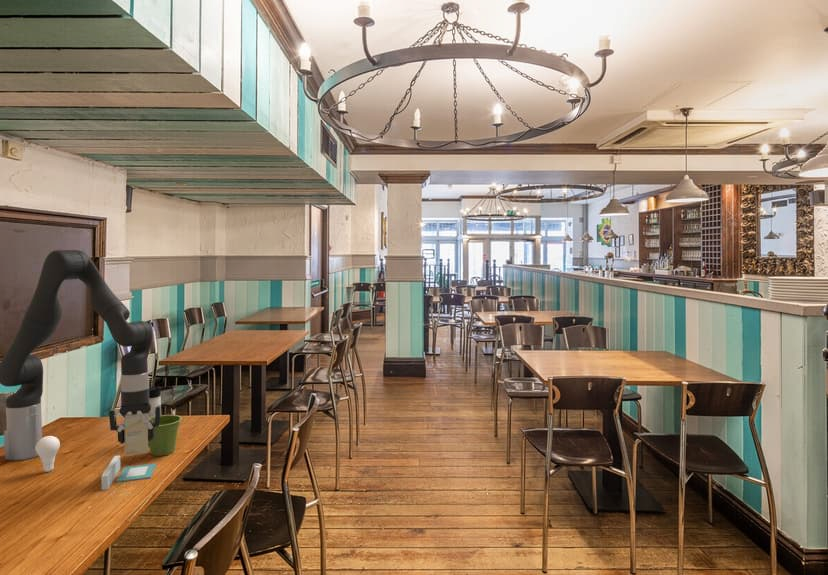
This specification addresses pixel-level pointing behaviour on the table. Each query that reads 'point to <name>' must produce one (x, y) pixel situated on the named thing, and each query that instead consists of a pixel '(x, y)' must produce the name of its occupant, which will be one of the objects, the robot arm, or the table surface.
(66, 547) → the table surface
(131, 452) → the skincare box
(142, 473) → the resting pad
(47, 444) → the lightbulb
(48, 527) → the table surface
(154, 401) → the travel mug
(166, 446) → the plant pot
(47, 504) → the table surface
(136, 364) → the robot arm
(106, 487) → the divider wall
